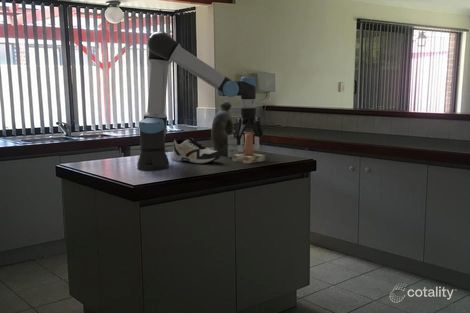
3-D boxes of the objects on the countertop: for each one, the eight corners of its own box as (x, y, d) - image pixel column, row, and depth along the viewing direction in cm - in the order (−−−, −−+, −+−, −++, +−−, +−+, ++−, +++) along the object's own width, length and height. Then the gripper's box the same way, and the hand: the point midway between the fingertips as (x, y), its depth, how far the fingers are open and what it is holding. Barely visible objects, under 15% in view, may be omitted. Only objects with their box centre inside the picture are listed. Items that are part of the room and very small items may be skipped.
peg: (248, 161, 245) (248, 134, 243) (243, 160, 248) (243, 133, 246) (254, 160, 247) (254, 133, 245) (249, 159, 250) (249, 133, 248)
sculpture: (238, 152, 275) (238, 100, 270) (221, 155, 264) (221, 101, 260) (224, 151, 282) (223, 100, 278) (207, 153, 272) (206, 100, 267)
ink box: (244, 155, 264) (244, 134, 262) (243, 157, 259) (243, 135, 257) (228, 155, 264) (228, 134, 263) (227, 157, 260) (227, 135, 258)
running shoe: (212, 166, 235) (212, 141, 233) (165, 161, 250) (164, 138, 248) (224, 162, 244) (224, 139, 242) (178, 158, 260) (177, 136, 258)
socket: (247, 163, 239) (247, 157, 239) (232, 160, 248) (232, 154, 248) (265, 160, 247) (265, 155, 246) (249, 158, 256) (249, 152, 255)
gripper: (235, 108, 233) (235, 153, 237) (270, 106, 248) (270, 148, 251) (225, 108, 239) (226, 151, 242) (260, 106, 253) (260, 147, 257)
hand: (248, 150), depth 247 cm, fingers open, 11 cm apart
